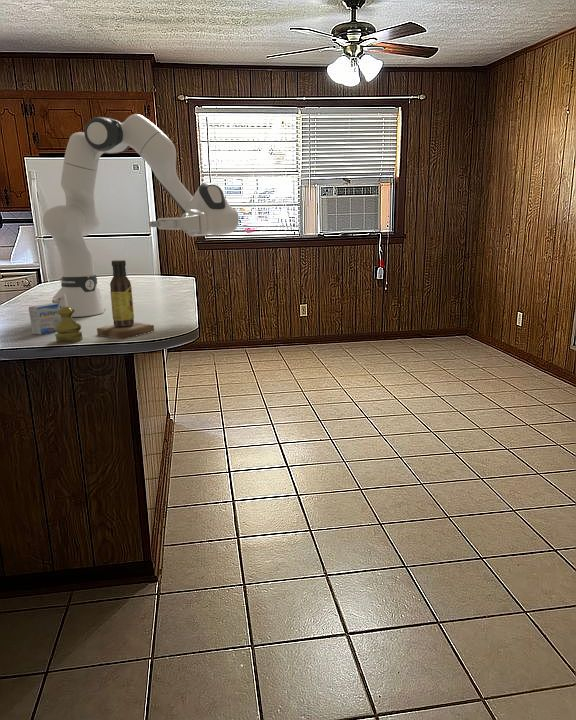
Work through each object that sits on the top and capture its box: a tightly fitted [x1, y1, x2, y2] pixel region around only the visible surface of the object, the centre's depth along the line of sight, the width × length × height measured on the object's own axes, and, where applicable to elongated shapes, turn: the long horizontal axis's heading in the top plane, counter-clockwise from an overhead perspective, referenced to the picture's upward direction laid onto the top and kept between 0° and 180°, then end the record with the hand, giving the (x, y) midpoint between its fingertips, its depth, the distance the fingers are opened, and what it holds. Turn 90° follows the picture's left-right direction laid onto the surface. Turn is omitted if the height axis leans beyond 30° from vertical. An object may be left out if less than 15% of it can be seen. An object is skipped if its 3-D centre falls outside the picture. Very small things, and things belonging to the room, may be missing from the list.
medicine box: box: [28, 302, 62, 336], centre depth 178 cm, size 8×4×9 cm, turn 148°
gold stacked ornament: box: [54, 307, 84, 344], centre depth 165 cm, size 7×7×10 cm
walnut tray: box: [96, 322, 155, 340], centre depth 173 cm, size 12×12×2 cm
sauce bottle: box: [109, 259, 135, 327], centre depth 171 cm, size 6×6×20 cm
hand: (154, 224), depth 181 cm, fingers open, 8 cm apart
